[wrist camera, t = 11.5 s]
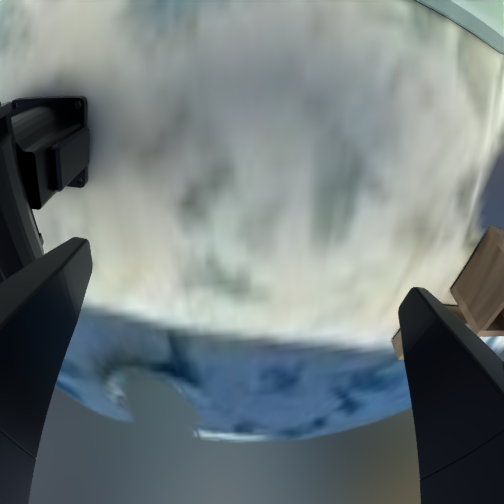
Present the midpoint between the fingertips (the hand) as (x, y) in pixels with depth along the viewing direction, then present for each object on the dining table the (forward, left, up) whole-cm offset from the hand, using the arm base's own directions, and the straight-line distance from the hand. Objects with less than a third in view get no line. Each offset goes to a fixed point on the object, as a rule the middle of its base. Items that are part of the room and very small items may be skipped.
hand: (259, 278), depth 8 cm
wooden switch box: (+23, -15, -13) cm, 30 cm away
